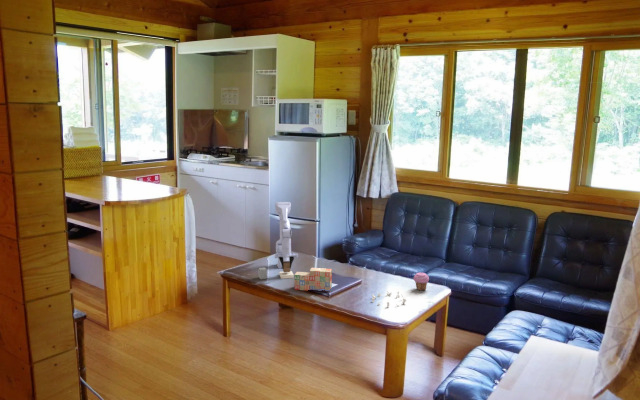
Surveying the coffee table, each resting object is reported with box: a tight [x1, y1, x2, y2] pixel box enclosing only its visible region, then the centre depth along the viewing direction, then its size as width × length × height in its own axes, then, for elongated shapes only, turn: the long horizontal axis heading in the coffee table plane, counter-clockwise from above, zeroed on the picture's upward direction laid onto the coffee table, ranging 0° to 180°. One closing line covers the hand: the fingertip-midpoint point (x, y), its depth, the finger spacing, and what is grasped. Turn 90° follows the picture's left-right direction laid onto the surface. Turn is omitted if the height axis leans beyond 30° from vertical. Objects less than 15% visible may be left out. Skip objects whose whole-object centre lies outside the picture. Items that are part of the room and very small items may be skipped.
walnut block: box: [282, 260, 291, 272], centre depth 333 cm, size 4×4×6 cm
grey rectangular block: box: [258, 267, 268, 280], centre depth 331 cm, size 4×4×6 cm
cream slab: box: [279, 270, 295, 280], centre depth 334 cm, size 8×8×2 cm
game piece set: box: [371, 290, 407, 308], centre depth 291 cm, size 19×20×4 cm
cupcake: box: [413, 272, 430, 291], centre depth 310 cm, size 9×9×10 cm
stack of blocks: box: [293, 267, 333, 292], centre depth 310 cm, size 21×6×12 cm, turn 80°
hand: (286, 268), depth 334 cm, fingers closed on walnut block, 4 cm apart
